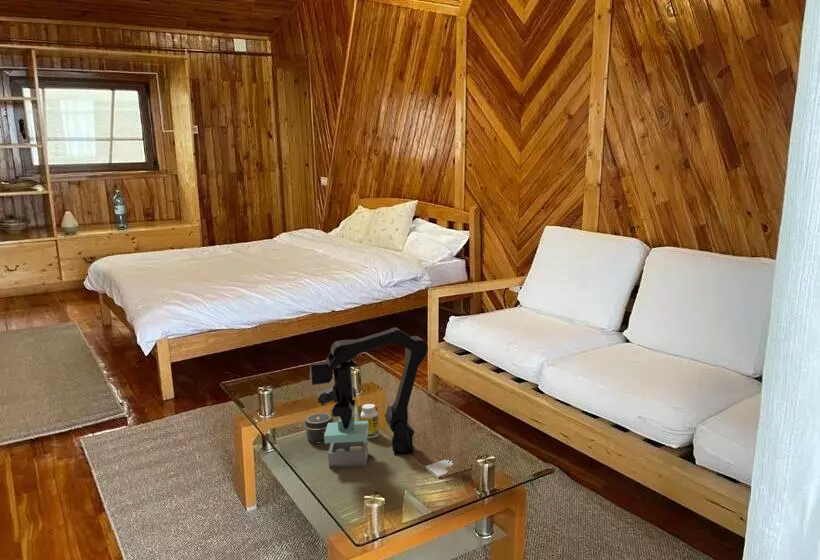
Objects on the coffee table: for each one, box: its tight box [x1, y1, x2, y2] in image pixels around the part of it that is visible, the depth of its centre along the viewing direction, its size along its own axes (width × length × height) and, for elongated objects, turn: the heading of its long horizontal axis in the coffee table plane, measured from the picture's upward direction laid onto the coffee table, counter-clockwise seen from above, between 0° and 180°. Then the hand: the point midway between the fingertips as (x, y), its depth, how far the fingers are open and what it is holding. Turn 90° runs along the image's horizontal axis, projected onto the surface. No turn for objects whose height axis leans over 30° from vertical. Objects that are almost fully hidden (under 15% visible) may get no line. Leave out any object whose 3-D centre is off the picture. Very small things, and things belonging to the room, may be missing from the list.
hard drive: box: [424, 459, 453, 478], centre depth 192 cm, size 2×8×12 cm
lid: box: [323, 416, 369, 444], centre depth 199 cm, size 13×10×6 cm
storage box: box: [327, 440, 369, 469], centre depth 201 cm, size 12×9×5 cm
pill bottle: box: [360, 403, 380, 439], centre depth 219 cm, size 6×6×11 cm
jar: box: [304, 412, 334, 443], centre depth 219 cm, size 10×10×8 cm
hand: (346, 426), depth 199 cm, fingers closed on lid, 3 cm apart
